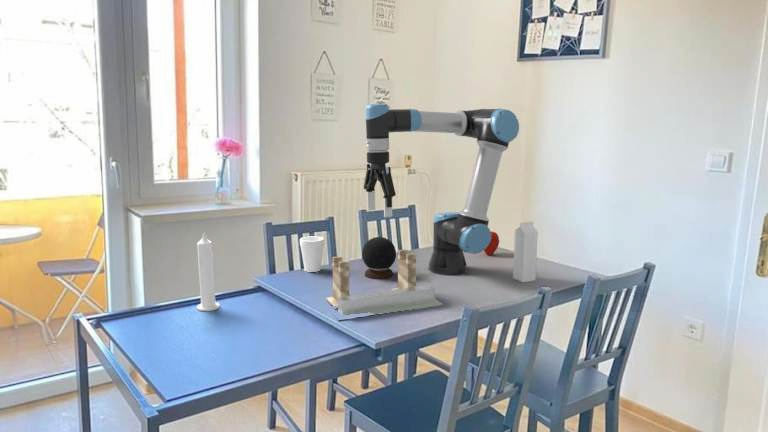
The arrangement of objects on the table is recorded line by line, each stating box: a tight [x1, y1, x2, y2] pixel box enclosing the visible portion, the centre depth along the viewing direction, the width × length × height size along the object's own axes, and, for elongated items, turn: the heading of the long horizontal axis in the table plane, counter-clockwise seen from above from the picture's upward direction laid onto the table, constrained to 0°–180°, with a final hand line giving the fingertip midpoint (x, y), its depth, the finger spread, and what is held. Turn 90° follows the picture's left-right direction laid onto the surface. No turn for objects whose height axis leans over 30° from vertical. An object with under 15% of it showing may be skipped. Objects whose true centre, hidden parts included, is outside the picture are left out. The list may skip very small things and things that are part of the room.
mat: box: [370, 297, 444, 314], centre depth 184 cm, size 36×8×1 cm, turn 113°
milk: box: [512, 221, 539, 283], centre depth 214 cm, size 6×6×22 cm
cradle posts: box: [325, 248, 417, 307], centre depth 193 cm, size 32×9×15 cm, turn 113°
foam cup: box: [299, 235, 325, 273], centre depth 226 cm, size 10×9×13 cm
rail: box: [337, 284, 436, 315], centre depth 184 cm, size 32×4×5 cm, turn 113°
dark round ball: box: [361, 236, 397, 280], centre depth 220 cm, size 13×13×15 cm
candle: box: [196, 232, 221, 312], centre depth 184 cm, size 7×7×25 cm
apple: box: [483, 230, 500, 256], centre depth 250 cm, size 9×8×11 cm
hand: (379, 213), depth 195 cm, fingers open, 13 cm apart
